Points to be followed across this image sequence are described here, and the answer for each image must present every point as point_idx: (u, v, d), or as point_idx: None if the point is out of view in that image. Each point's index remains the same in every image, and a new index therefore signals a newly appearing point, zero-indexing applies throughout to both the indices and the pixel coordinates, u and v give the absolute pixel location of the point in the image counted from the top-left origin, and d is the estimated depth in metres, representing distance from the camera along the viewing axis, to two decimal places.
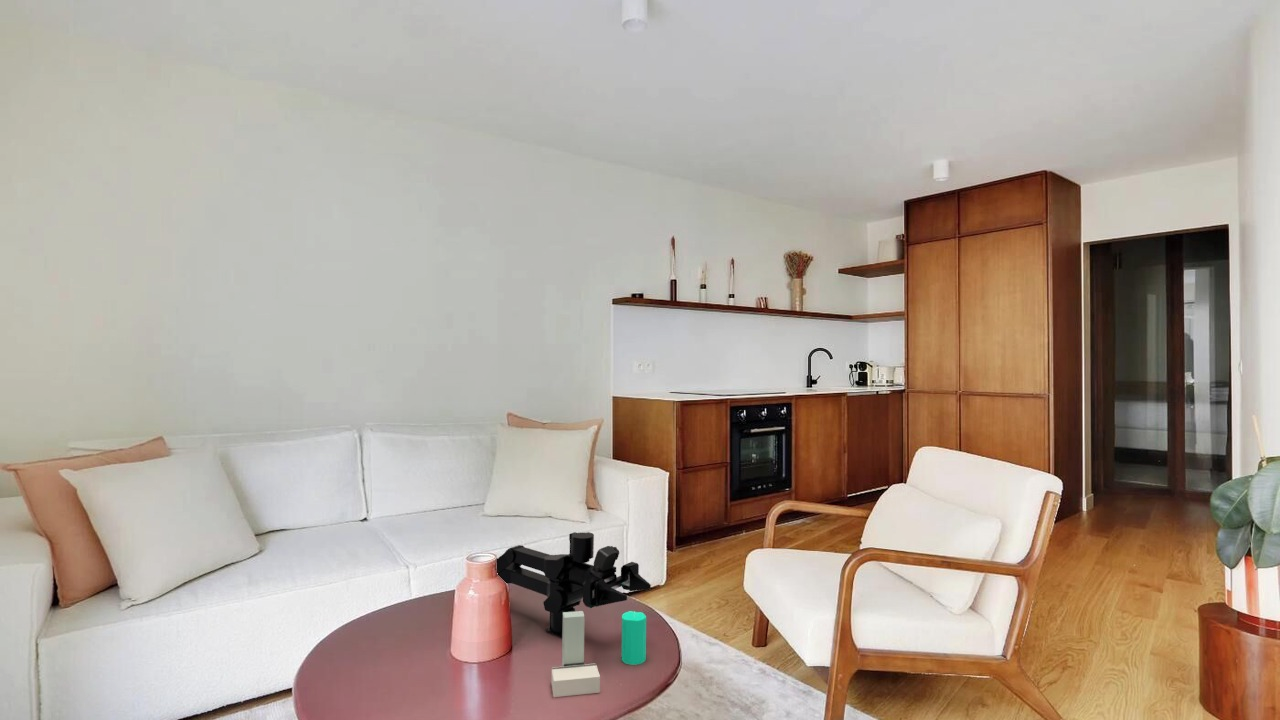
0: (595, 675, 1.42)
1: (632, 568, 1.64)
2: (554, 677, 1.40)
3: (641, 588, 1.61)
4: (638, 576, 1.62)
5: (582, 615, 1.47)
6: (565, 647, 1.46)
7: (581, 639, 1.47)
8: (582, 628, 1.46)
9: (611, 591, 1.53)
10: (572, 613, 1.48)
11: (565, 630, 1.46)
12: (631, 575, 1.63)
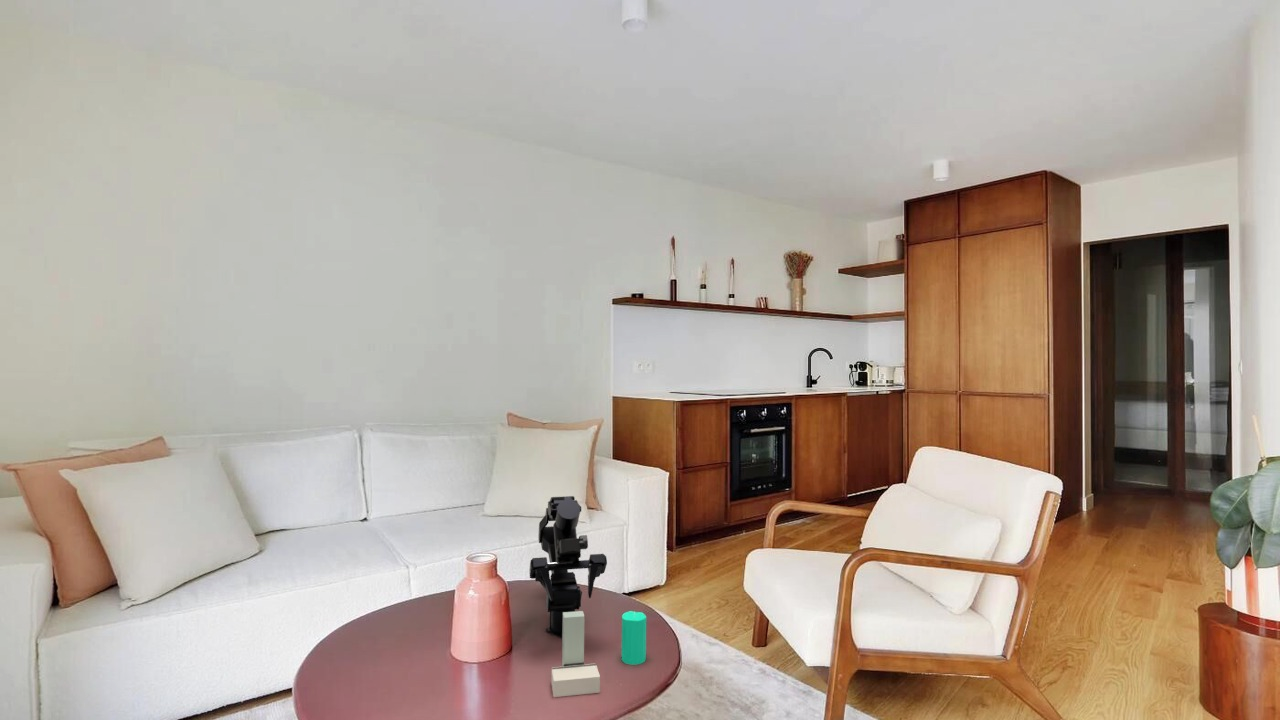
0: (595, 675, 1.42)
1: (593, 566, 1.59)
2: (554, 677, 1.40)
3: (588, 589, 1.59)
4: (592, 577, 1.59)
5: (582, 615, 1.47)
6: (565, 647, 1.46)
7: (581, 639, 1.47)
8: (582, 628, 1.46)
9: (546, 584, 1.56)
10: (572, 613, 1.48)
11: (565, 630, 1.46)
12: (589, 570, 1.60)
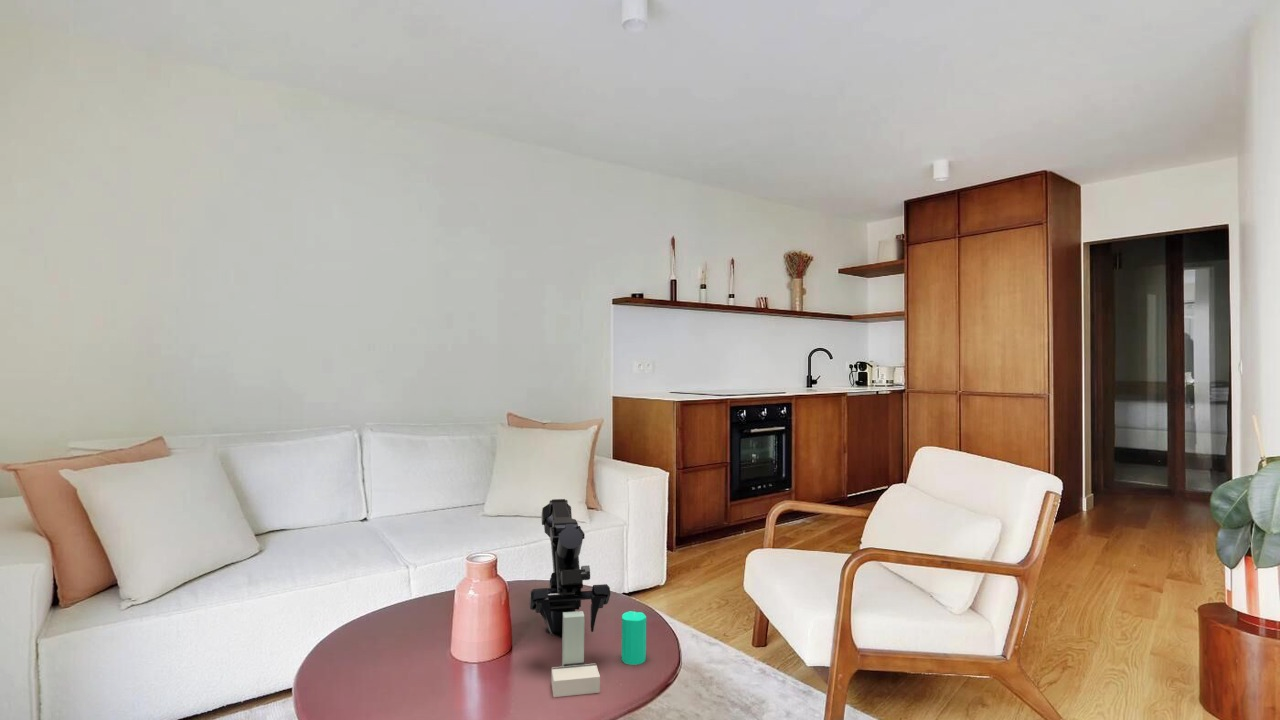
0: (595, 675, 1.42)
1: (595, 598, 1.53)
2: (554, 677, 1.40)
3: None
4: (594, 610, 1.52)
5: (582, 615, 1.47)
6: (565, 647, 1.46)
7: (581, 639, 1.47)
8: (582, 628, 1.46)
9: (546, 617, 1.49)
10: (572, 613, 1.48)
11: (565, 630, 1.46)
12: (592, 602, 1.53)
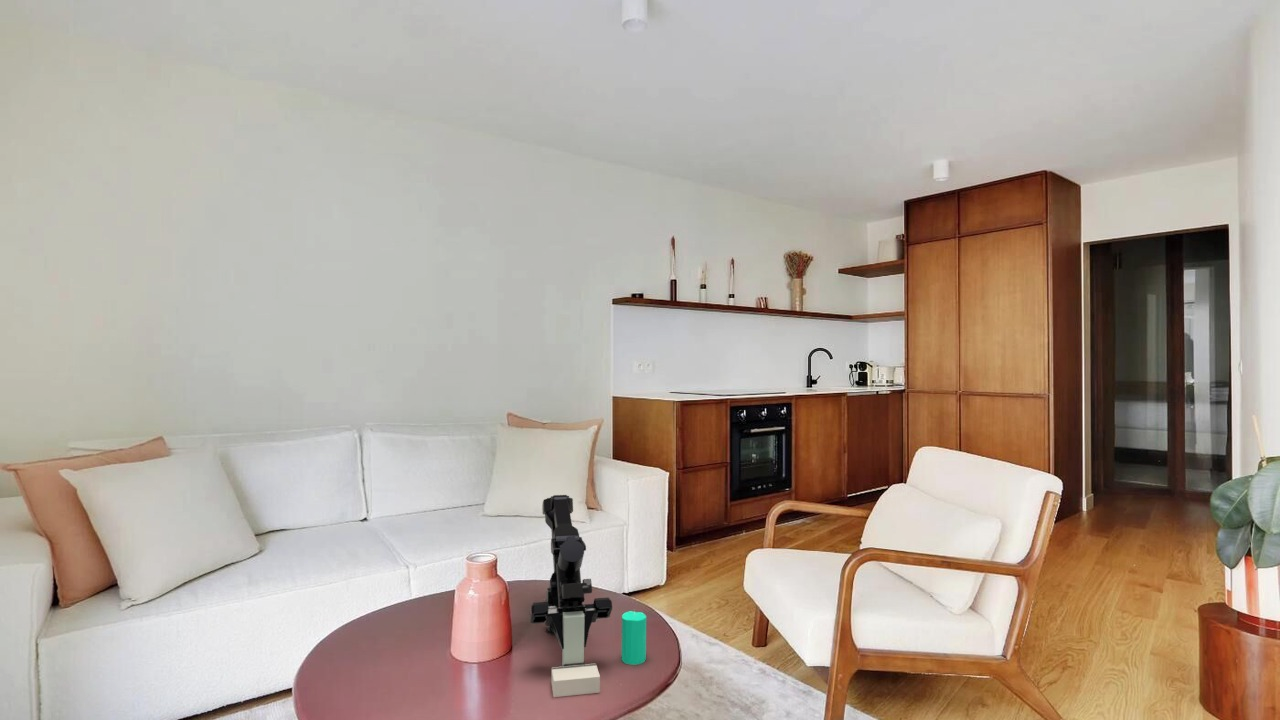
0: (595, 675, 1.42)
1: (588, 612, 1.50)
2: (554, 677, 1.40)
3: None
4: (587, 625, 1.49)
5: (582, 615, 1.47)
6: (565, 647, 1.46)
7: (581, 639, 1.47)
8: (582, 628, 1.46)
9: (556, 630, 1.47)
10: (572, 613, 1.48)
11: (565, 630, 1.46)
12: None
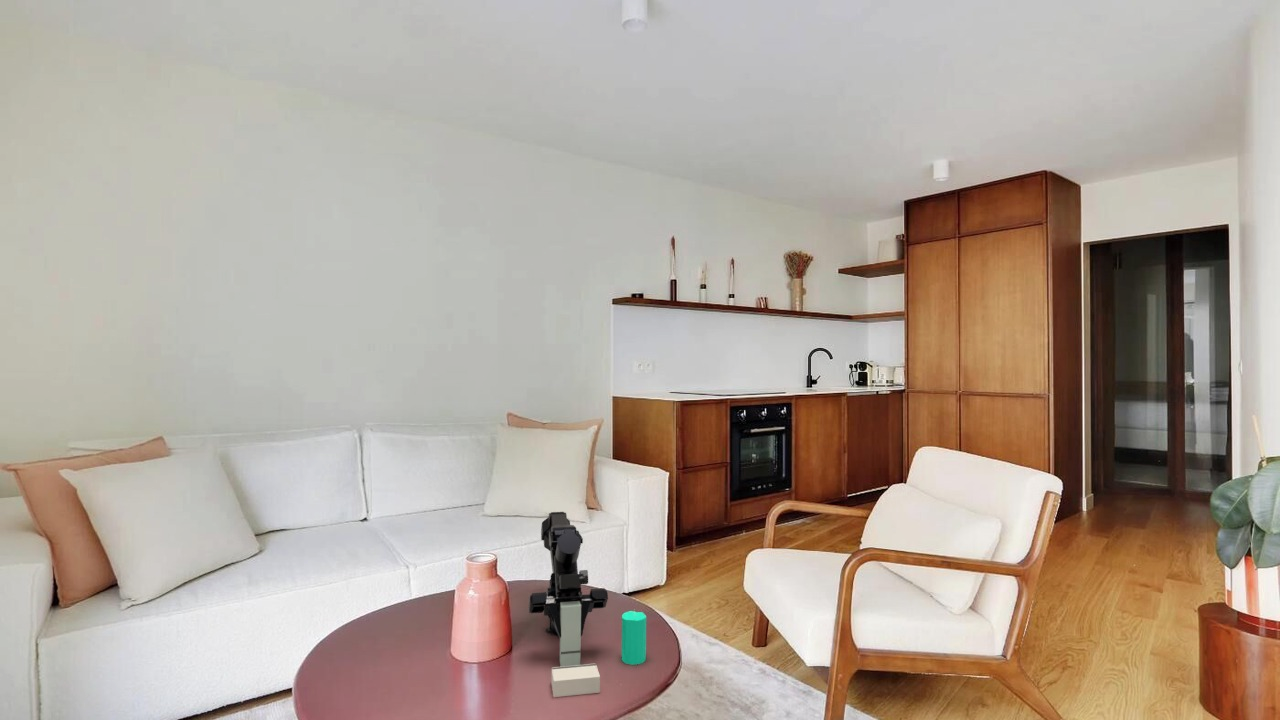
0: (595, 675, 1.42)
1: (584, 602, 1.55)
2: (554, 677, 1.40)
3: None
4: (583, 614, 1.55)
5: (579, 605, 1.53)
6: (562, 635, 1.52)
7: (578, 627, 1.52)
8: (579, 617, 1.52)
9: (554, 620, 1.53)
10: (569, 603, 1.54)
11: (562, 619, 1.51)
12: (581, 606, 1.56)
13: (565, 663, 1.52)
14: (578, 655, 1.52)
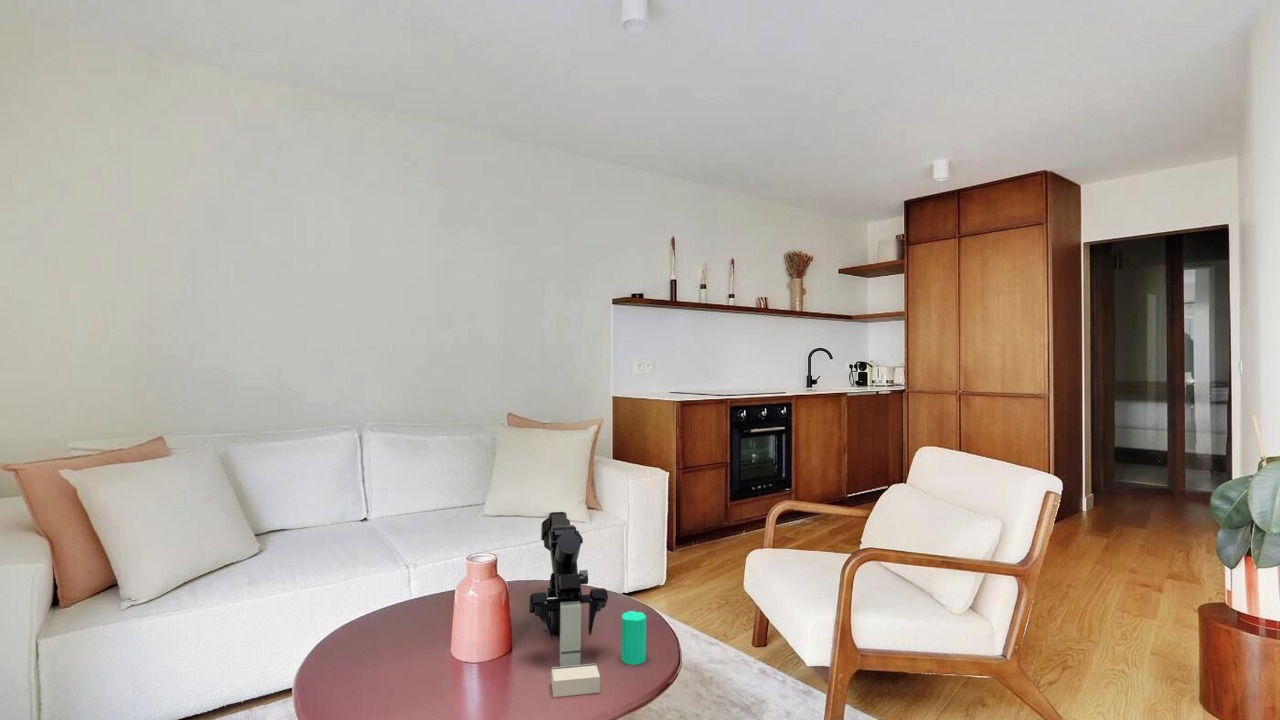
0: (595, 675, 1.42)
1: (593, 602, 1.56)
2: (554, 677, 1.40)
3: (588, 625, 1.56)
4: (592, 613, 1.55)
5: (579, 605, 1.53)
6: (562, 635, 1.52)
7: (578, 627, 1.52)
8: (579, 617, 1.52)
9: (545, 620, 1.53)
10: (569, 603, 1.54)
11: (562, 619, 1.51)
12: (590, 606, 1.57)
13: (565, 663, 1.52)
14: (578, 655, 1.52)
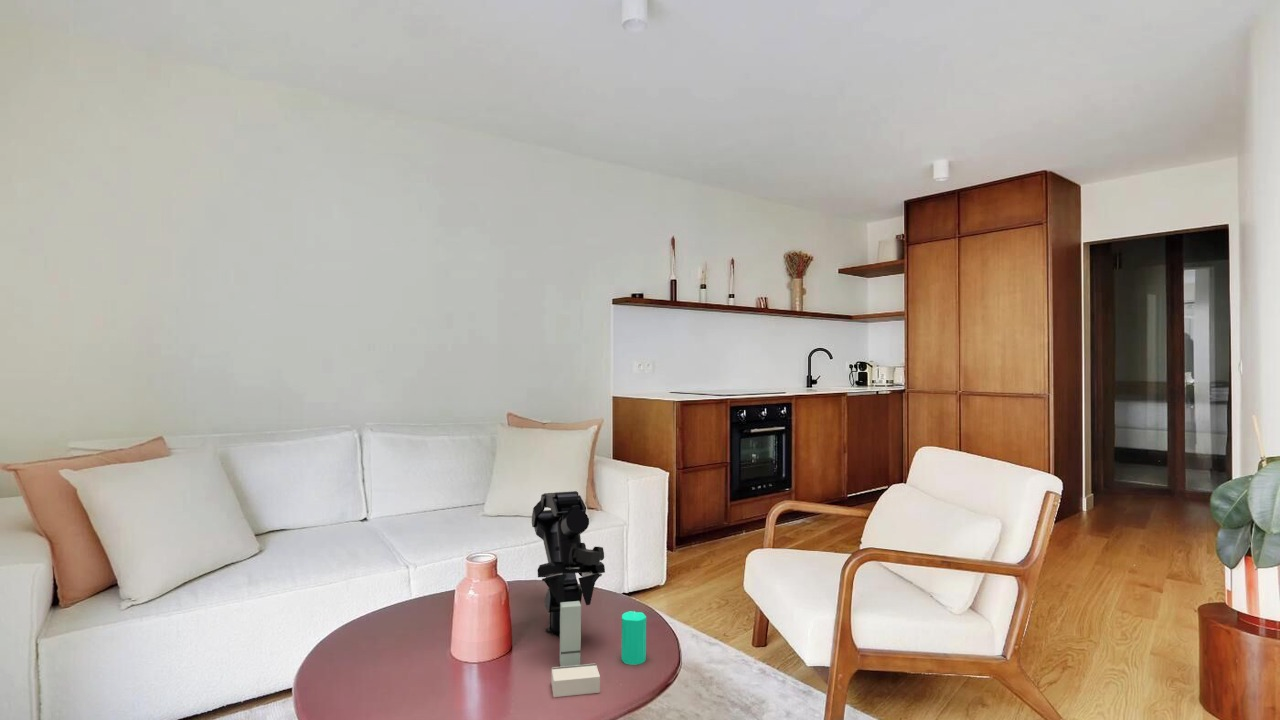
0: (595, 675, 1.42)
1: (596, 575, 1.64)
2: (554, 677, 1.40)
3: (583, 594, 1.63)
4: (592, 586, 1.63)
5: (579, 605, 1.53)
6: (562, 635, 1.52)
7: (578, 627, 1.52)
8: (579, 617, 1.52)
9: (560, 590, 1.55)
10: (569, 603, 1.54)
11: (562, 619, 1.51)
12: (590, 577, 1.64)
13: (565, 663, 1.52)
14: (578, 655, 1.52)
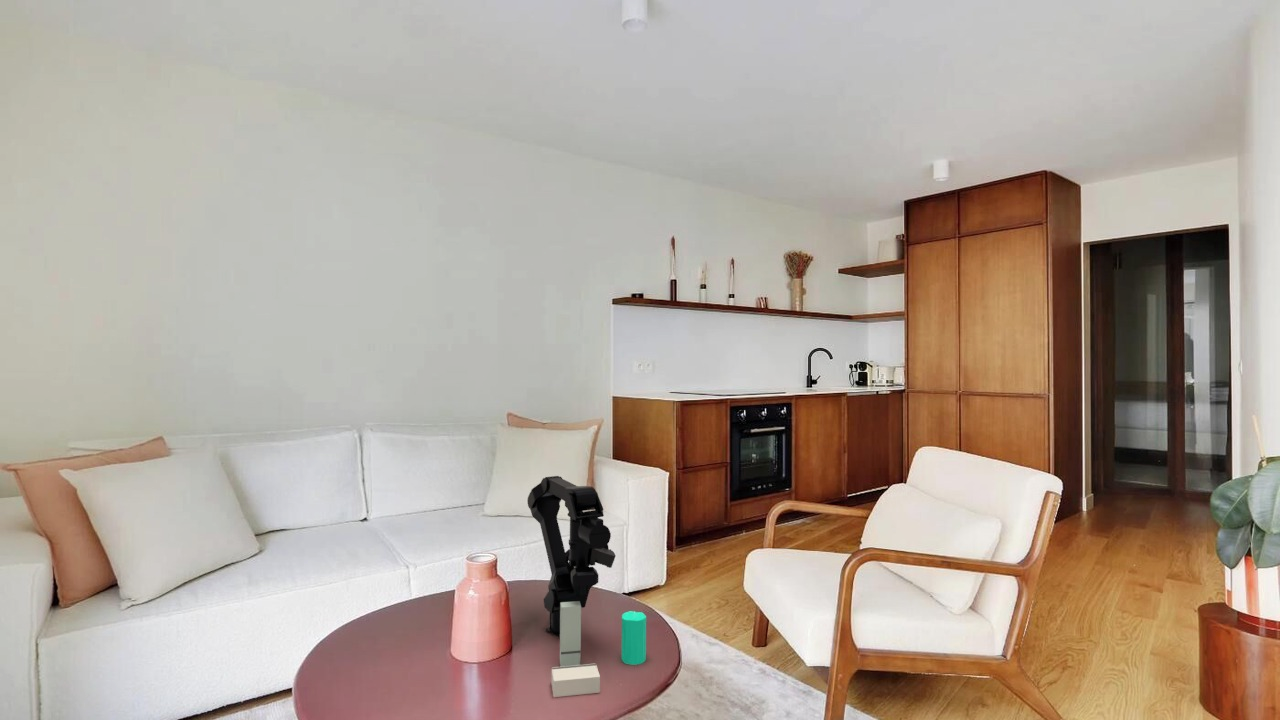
0: (595, 675, 1.42)
1: None
2: (554, 677, 1.40)
3: None
4: None
5: (579, 605, 1.53)
6: (562, 636, 1.51)
7: (578, 628, 1.52)
8: (579, 617, 1.52)
9: (587, 594, 1.56)
10: (569, 603, 1.54)
11: (562, 619, 1.51)
12: None
13: (565, 663, 1.52)
14: (578, 655, 1.52)
